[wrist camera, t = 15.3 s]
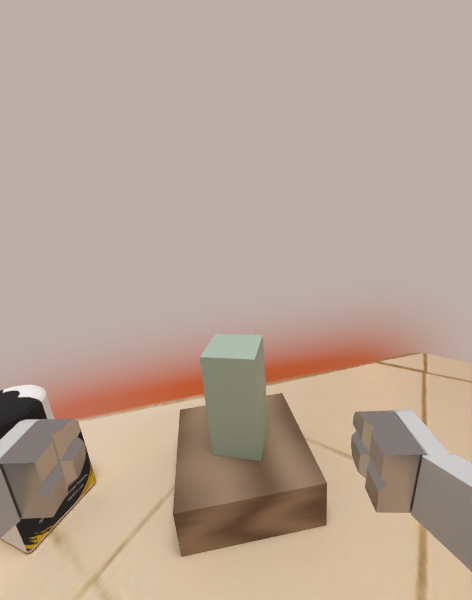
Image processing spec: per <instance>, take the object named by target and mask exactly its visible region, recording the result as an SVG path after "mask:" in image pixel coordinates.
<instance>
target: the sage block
mask: <svg viewBox="0 0 472 600" xmlns="http://www.w3.org/2000/svg"><path fill="white" fill-rule="evenodd" d="M200 363H201V371H202V379H203V386H204V394H205V402H206V410H207V418H208V425H209V433H210V441H211V449H212V455H217V456H225V457H233V458H240V459H248V460H256V461H261V459H262V454H263V448H264V442H265V436H266V431H267V425H268V424H267V405H266V387H265V368H264V351H263V336H262V335H240V334H239V335H237V334H215V336H214V337H213V339H212V340H211V342H210V343H209V345H208V346H207V347H206V349H205V350H204V352H203V353H202V355H201V356H200Z"/></svg>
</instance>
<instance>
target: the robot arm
mask: <svg viewBox="0 0 472 600" xmlns="http://www.w3.org/2000/svg"><path fill="white" fill-rule="evenodd" d="M353 425H354V426H355V428H356V430H357V431H356V432H355V433H354V434H353V435H352V440H351V448H352V456H353V459H354V463H355V465H356V468H357V470H358V472H359V473H360V474H361V475H362V476H364V477H365V478H366V484H365V488H366V491H367V493H368V495H369V497H370V499H371V502H372V504H373V506H374V508H375V511H376V512H389V513H411V515H412V516H413V517H414V518H415V519H416V520H417V521H418V522H419V523H420V524H421V525H423V526H424V527H425V528H426V529H427V530H428V531H429V532H430V533H431V534H432V535H433V536H434V537H435V538H436V539H437V540H439V541H440V542H441V543H442V544H443V545H444V546H445V547H446V548H447V549H448V550H449V551H450V552H451V553H452V554H453V555H454V556H456V557H457V558H458V559H459V560H460V561H461V562H462V563H463V564H464V565H465V566H466V567H467V568H468V569H469V570H470V571H472V463H471V462H469V461H467V460H465V459H463V458H462V457H460V456H458V455H450V453H449V452H448V451H447V450H446V449H445V448H444V446H443V445H442V444H441V443H440V442H439V441H438V439H437V438H436V437H435V436H434V435H433V434H432V432H431V431H430V430H429V429H428V428H427V427H426V425H425V424H424V423H423V422H422V421H421V420H420V418H419V417H418V416H417V415H416V414H415V413H414V412H413V411H412V410H410V409H405V410H391V411H366V412H355V414H354V418H353ZM80 431H81V429H80V426H79V422H78V421H77V420H74V419H41V420H39V419H28V420H23V421H20V422H18V423H17V424H16V425H15V426H14V427H13V428H12V429H11V430H10V431H9V432H8V433H7V434H6V435H5V436H4V437H3V438H2V439H1V440H0V538H1V537H2V536H4V535H5V534H6V533H7V532H8V531H9V530H10V529H12V528H13V527H14V526H15V525H16V524H17V523H19V522H20V519H27V518H48V517H54V515H55V513H56V512H57V510H58V508H59V507H60V505H61V503H62V502H63V500H64V499H65V497H66V495H67V494H68V489H67V485H68V484H70V483H71V482H72V481H74V480H75V479H76V478H77V477H78V475H79V474H80V472H81V470H82V469H83V465H84V462H85V458H86V448H85V444H84V442H83V441H82V440H81V439H80V438H79V437H78V434H79V433H80Z"/></svg>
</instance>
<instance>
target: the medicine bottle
mask: <svg viewBox="0 0 472 600" xmlns="http://www.w3.org/2000/svg"><path fill="white" fill-rule="evenodd" d="M28 419H39V420H41V419H54V416H53V413H52V410H51V407H50V404H49V401H48V398H47V395H46V392H45V390H44V389H43V388H41V387H39V386H36V385H22V386H15V387H11V388H7V389H4V390H1V391H0V440H1V439H2V438H3V437H4V436H5V435H6V434H7V433H8V432H9V431H10V430H11V429H12V428H13V427H14V426H15V425H16V424H17V423H18V422H20V421H23V420H28ZM78 437H79V438H80V439H81V440H82V441H83V442H84V439H83V436H82V432H81V431H80V433H79V434H78ZM84 444H85V442H84ZM85 448H86V446H85ZM94 483H95V476H94V473H93V469H92V466H91V463H90V459H89V456H88V452H87V449H86V458H85V462H84V465H83V469H82V470H81V472H80V474H79V475H78V477H77V478H76V479H75V480H74V481H72V482H71V483H70V484H68V485H67V489H68V494H67V495H66V497H65V499H64V500H63V502H62V503H61V505H60V507H59V508H58V510H57V512H56V513H55V515H54V517H48V518H27V519H20V522H19V523H17V524H16V525H15V526H14V527H13V528H12V529H10V530H9V531H8V532H7V533H6V534H5V535H4V536H2V537H1V538H0V539H2V540H4V541H6V542H8V543H10V544H11V545H13V546H15V547H17V548H19V549H20V550H22V551H24V552H26V553H30V552H31V551H33V550H34V549H35V547H36V546H37V545H38V544H39V543H40V542H41V541H42V540H43V539H44V538H45V537H46V536H47V534H48V533H49V532H50V531H51V530H52V529H53V528H54V527H55V526H56V525H57V524H58V522H59V521H60V520H61V519H62V518H63V517H64V516H65V515H66V514H67V513H68V512H69V511H70V509H71V508H72V507H73V506H74V505H75V504H76V503H77V502H78V501H79V500H80V499H81V498H82V496H83V495H84V494H85V493H86V492H87V491H88V490H89V489H90V488H91V487H92V486H93V484H94Z"/></svg>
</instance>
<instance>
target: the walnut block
mask: <svg viewBox="0 0 472 600" xmlns="http://www.w3.org/2000/svg"><path fill="white" fill-rule="evenodd" d="M266 405H267V424H268V425H267V431H266V436H265V442H264V448H263V454H262V459H261V461H256V460H248V459H240V458H233V457H225V456H217V455H212V449H211V441H210V433H209V425H208V418H207V410H206V406H201V407H195V408H188V409H182V410H180V419H179V434H178V449H177V464H176V478H175V493H174V508H173V516H174V521H175V526H176V531H177V536H178V541H179V545H180V550H181V555H182V557H183V556H187V555H192V554H197V553H201V552H206V551H210V550H215V549H220V548H224V547H229V546H233V545H238V544H243V543H247V542H252V541H256V540H261V539H265V538H270V537H275V536H279V535H284V534H288V533H293V532H298V531H302V530H307V529H311V528H316V527H321V526H325V525H326V507H327V483H326V481H325V478H324V476H323V474H322V472H321V470H320V468H319V466H318V464H317V462H316V460H315V458H314V456H313V454H312V452H311V450H310V448H309V446H308V444H307V442H306V440H305V438H304V436H303V434H302V432H301V430H300V428H299V426H298V424H297V422H296V420H295V418H294V416H293V414H292V412H291V410H290V408H289V406H288V404H287V402H286V400H285V398H284V396H283V394H282V393H280V394H274V395H268V396H266Z"/></svg>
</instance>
